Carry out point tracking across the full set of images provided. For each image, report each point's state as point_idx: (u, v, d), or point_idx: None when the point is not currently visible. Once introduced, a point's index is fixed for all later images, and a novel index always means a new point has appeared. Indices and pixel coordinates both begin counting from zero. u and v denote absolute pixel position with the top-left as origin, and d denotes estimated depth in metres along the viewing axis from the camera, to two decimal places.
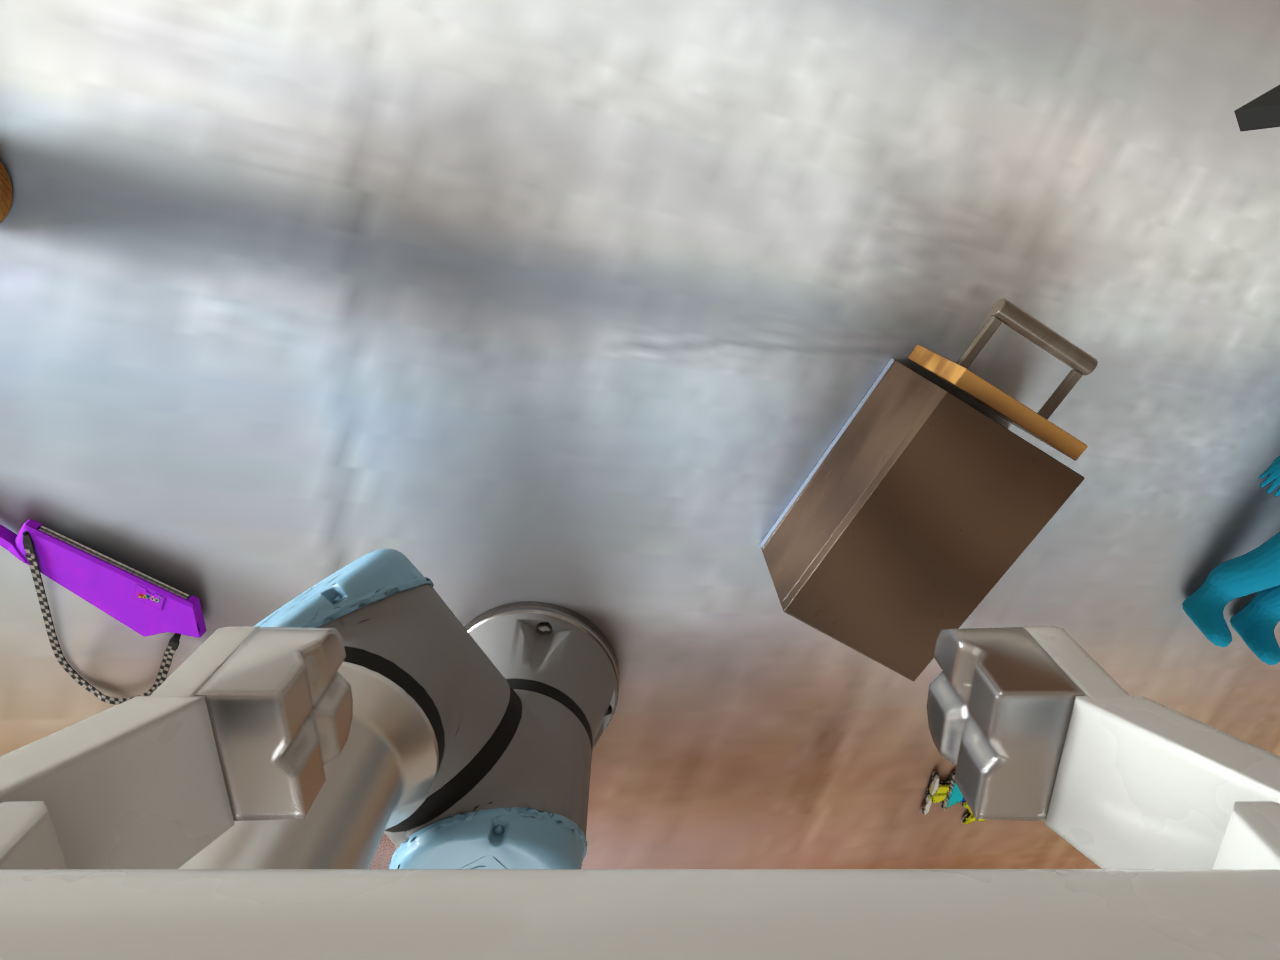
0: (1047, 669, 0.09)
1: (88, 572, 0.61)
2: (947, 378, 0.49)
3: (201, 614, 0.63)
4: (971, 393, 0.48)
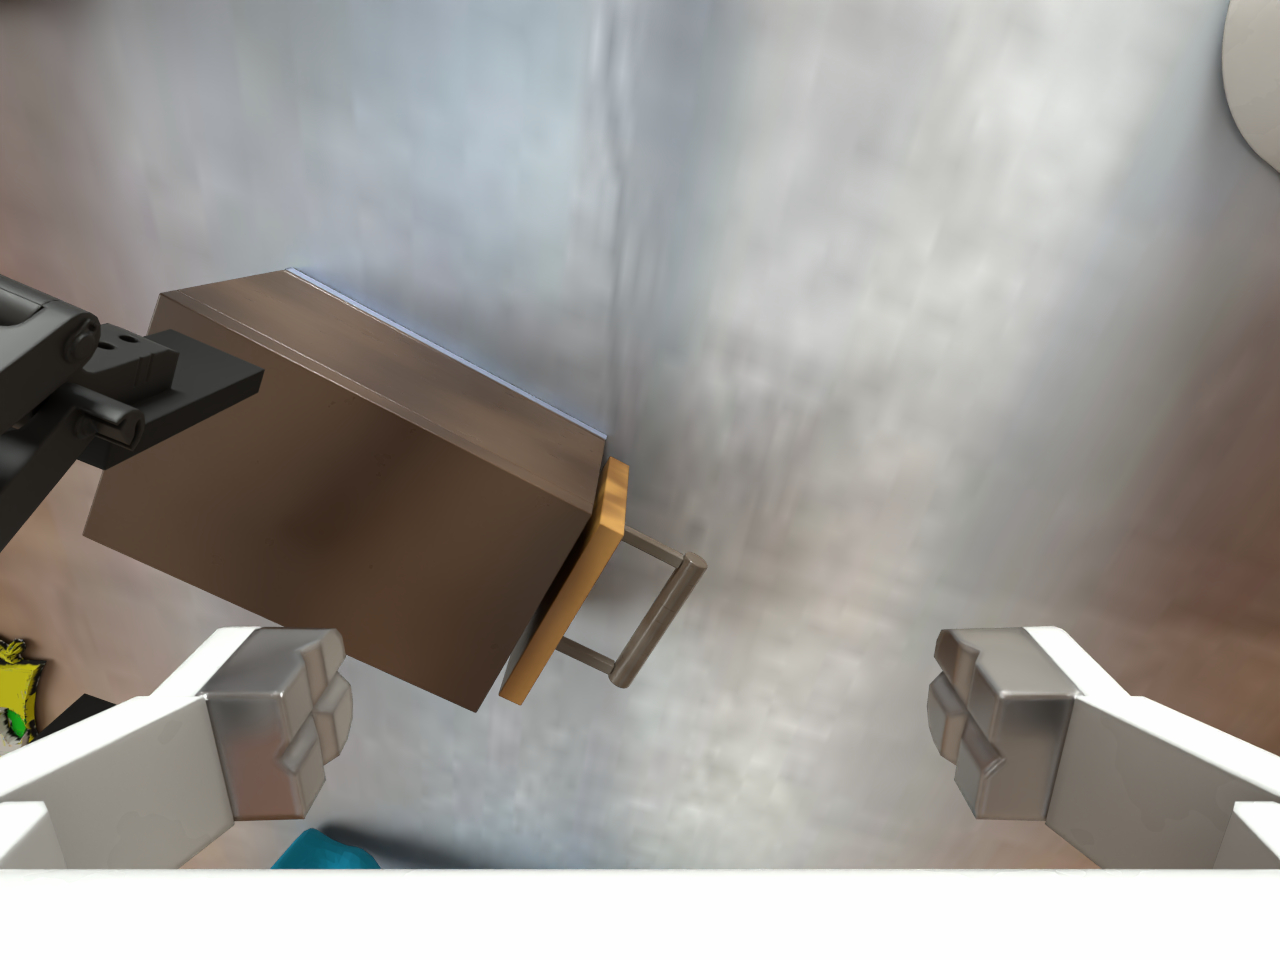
0: (1047, 669, 0.09)
1: None
2: (603, 511, 0.33)
3: None
4: (587, 547, 0.32)
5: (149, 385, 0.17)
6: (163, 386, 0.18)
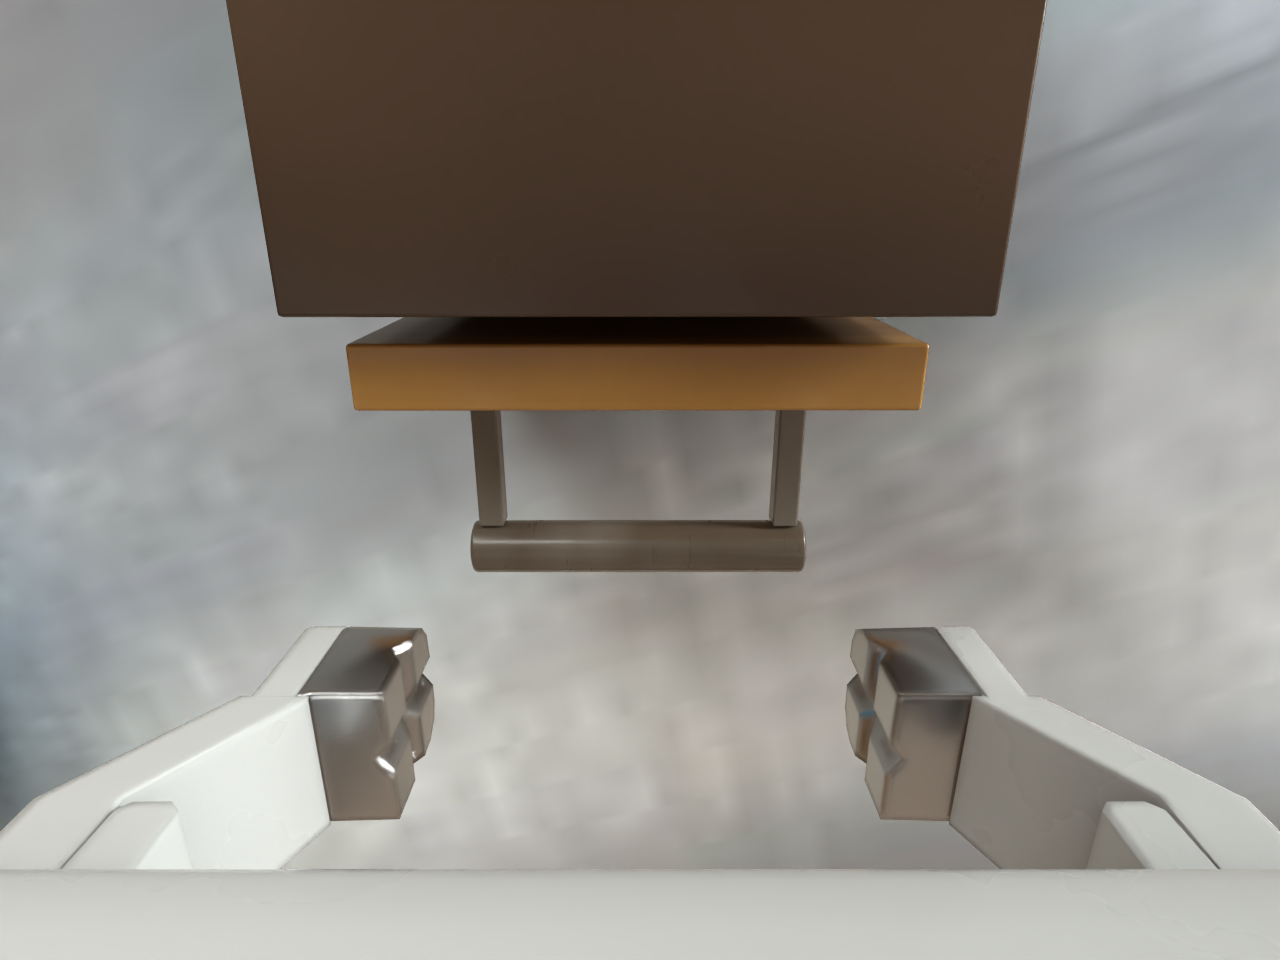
0: (950, 669, 0.09)
1: None
2: None
3: None
4: (854, 348, 0.13)
5: None
6: None
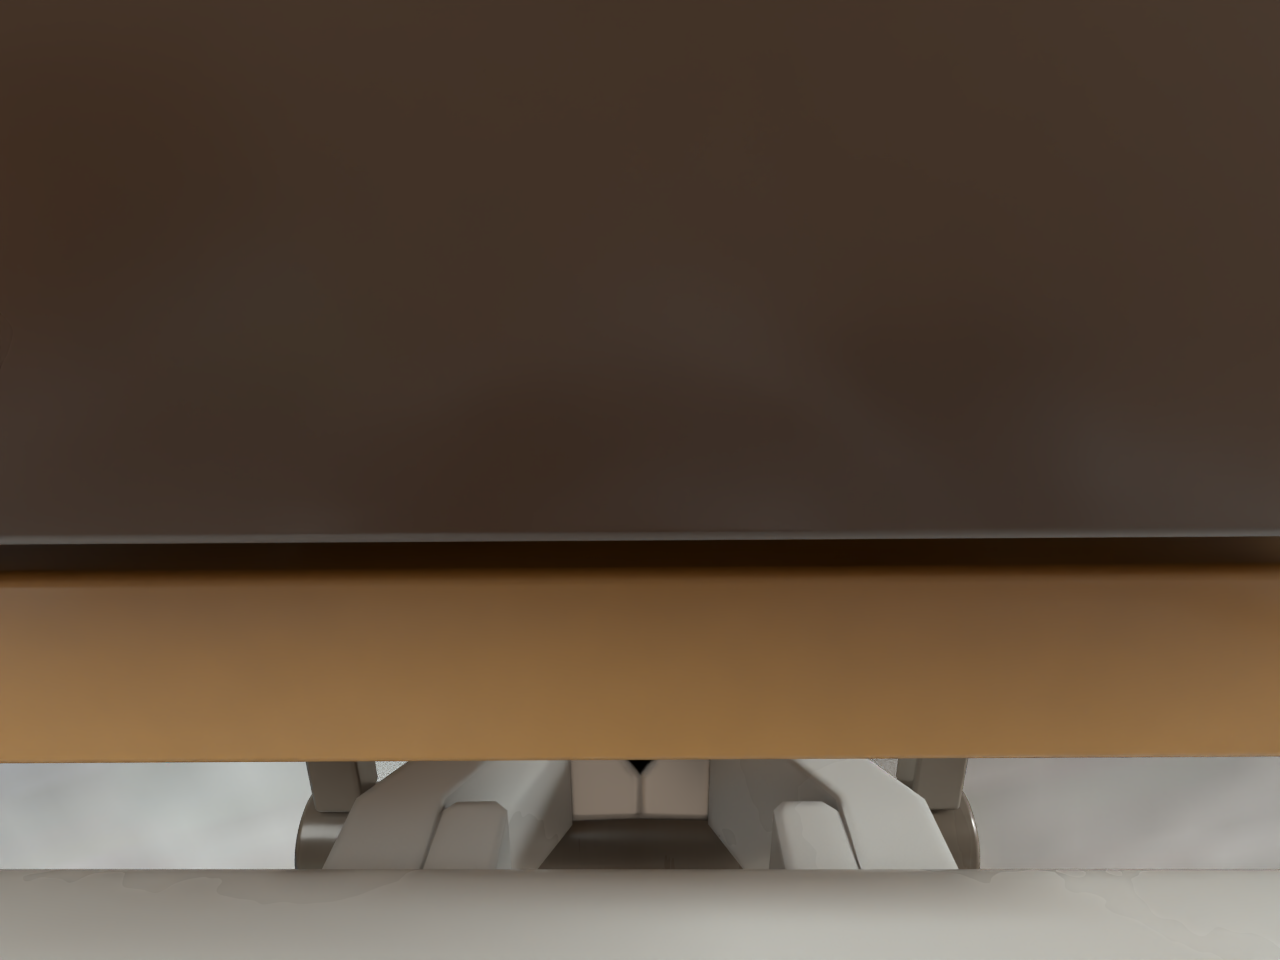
0: None
1: None
2: None
3: None
4: None
5: None
6: None
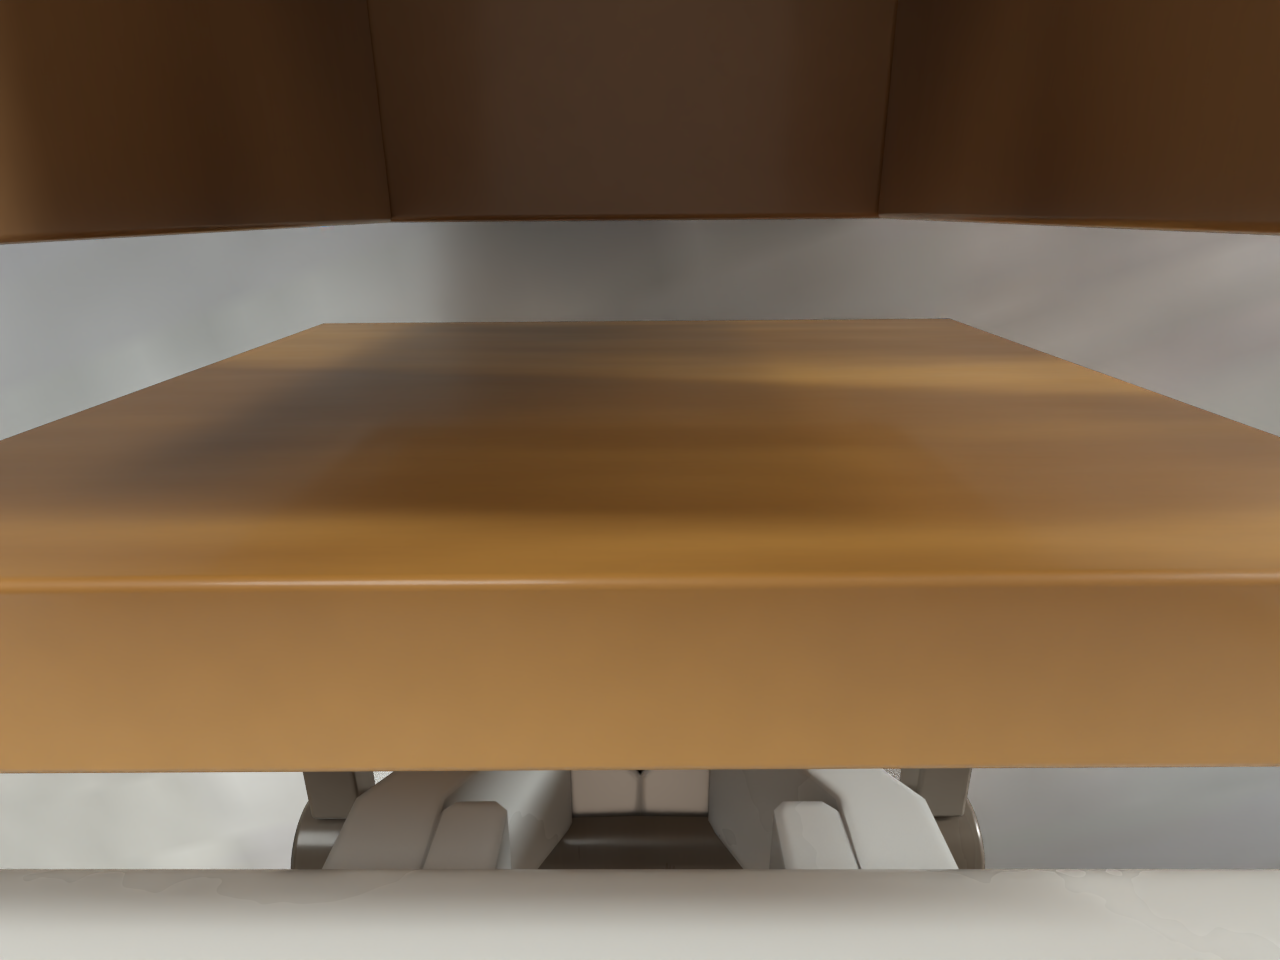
0: None
1: None
2: None
3: None
4: None
5: None
6: None
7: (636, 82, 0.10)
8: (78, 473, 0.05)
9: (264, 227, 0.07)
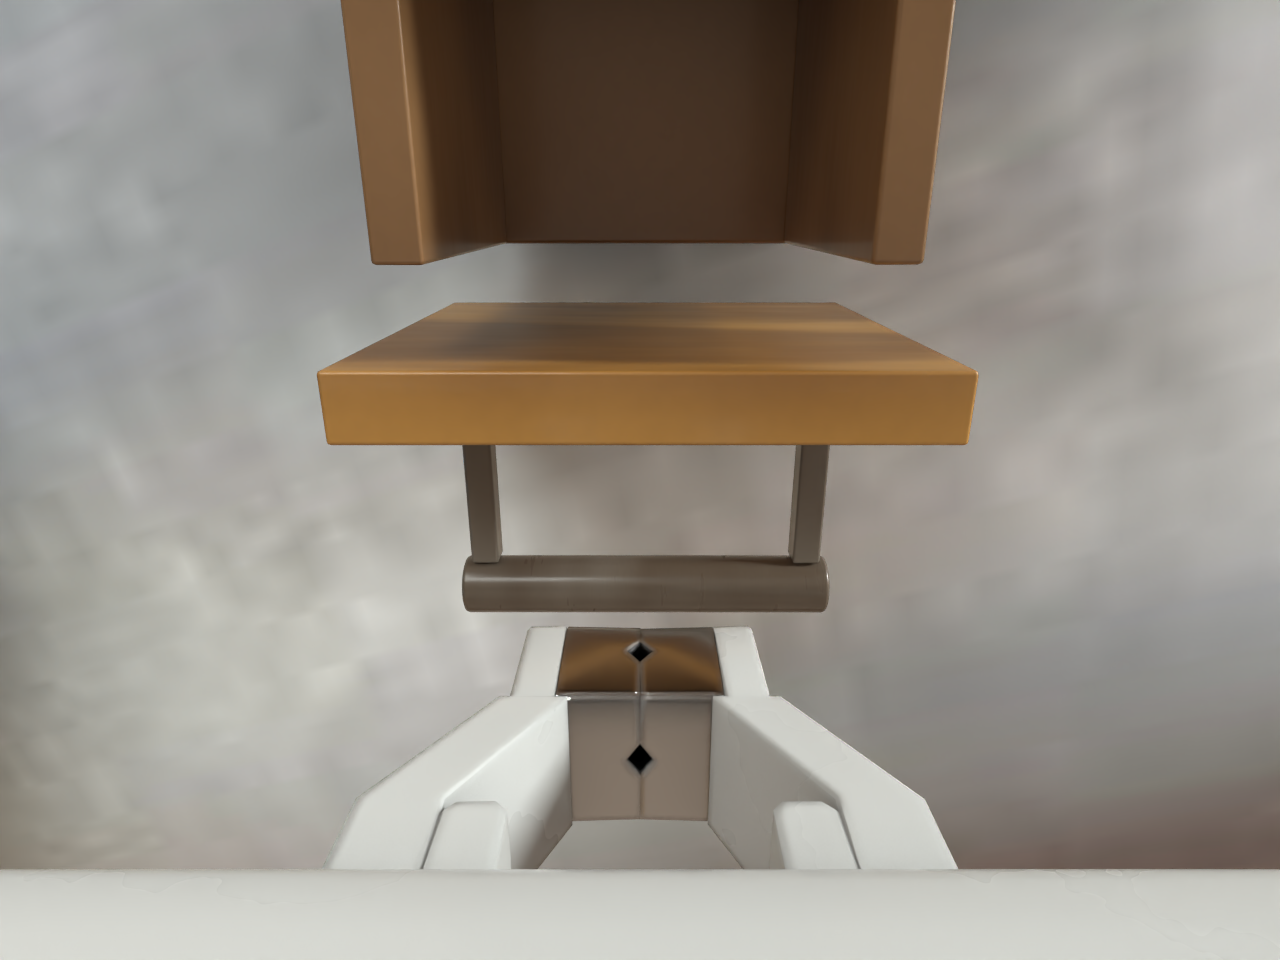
0: (706, 669, 0.09)
1: None
2: None
3: None
4: (893, 376, 0.11)
5: None
6: None
7: (647, 167, 0.18)
8: (426, 352, 0.13)
9: (473, 250, 0.15)
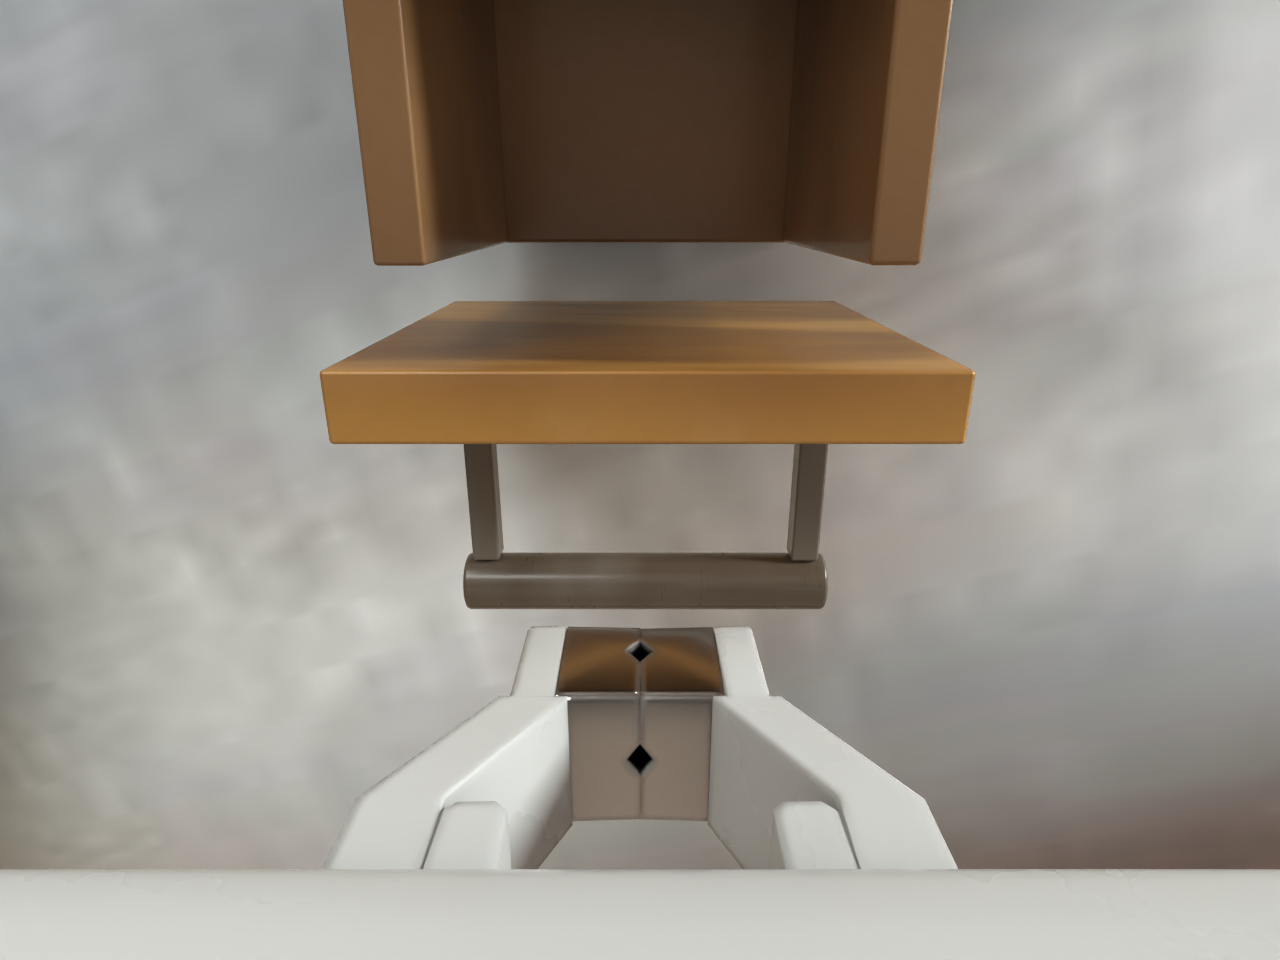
0: (706, 669, 0.09)
1: None
2: None
3: None
4: (891, 376, 0.12)
5: None
6: None
7: (647, 166, 0.18)
8: (427, 351, 0.13)
9: (474, 250, 0.15)
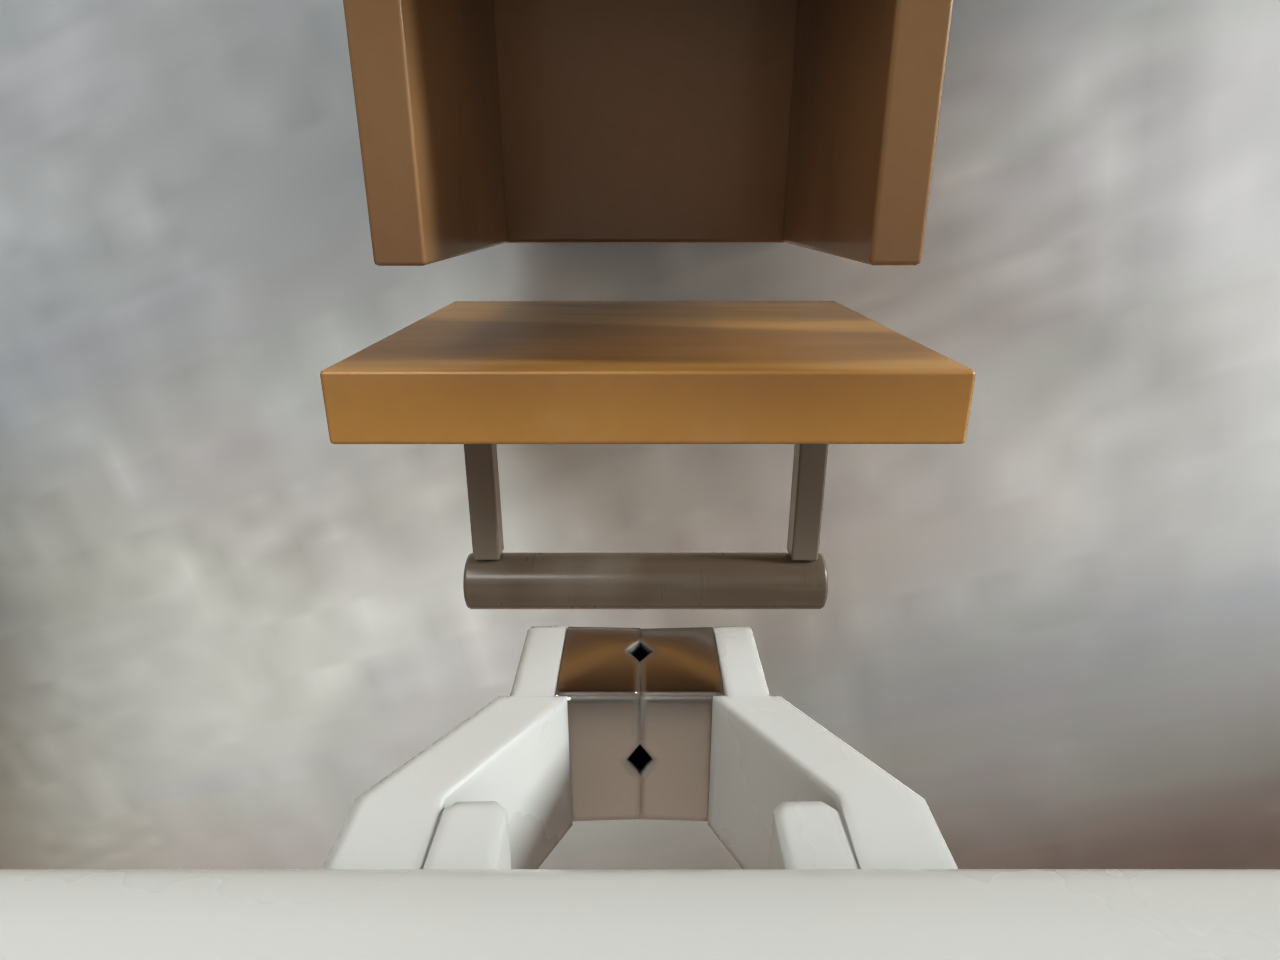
0: (706, 669, 0.09)
1: None
2: None
3: None
4: (891, 376, 0.12)
5: None
6: None
7: (646, 167, 0.18)
8: (427, 351, 0.13)
9: (474, 250, 0.15)
